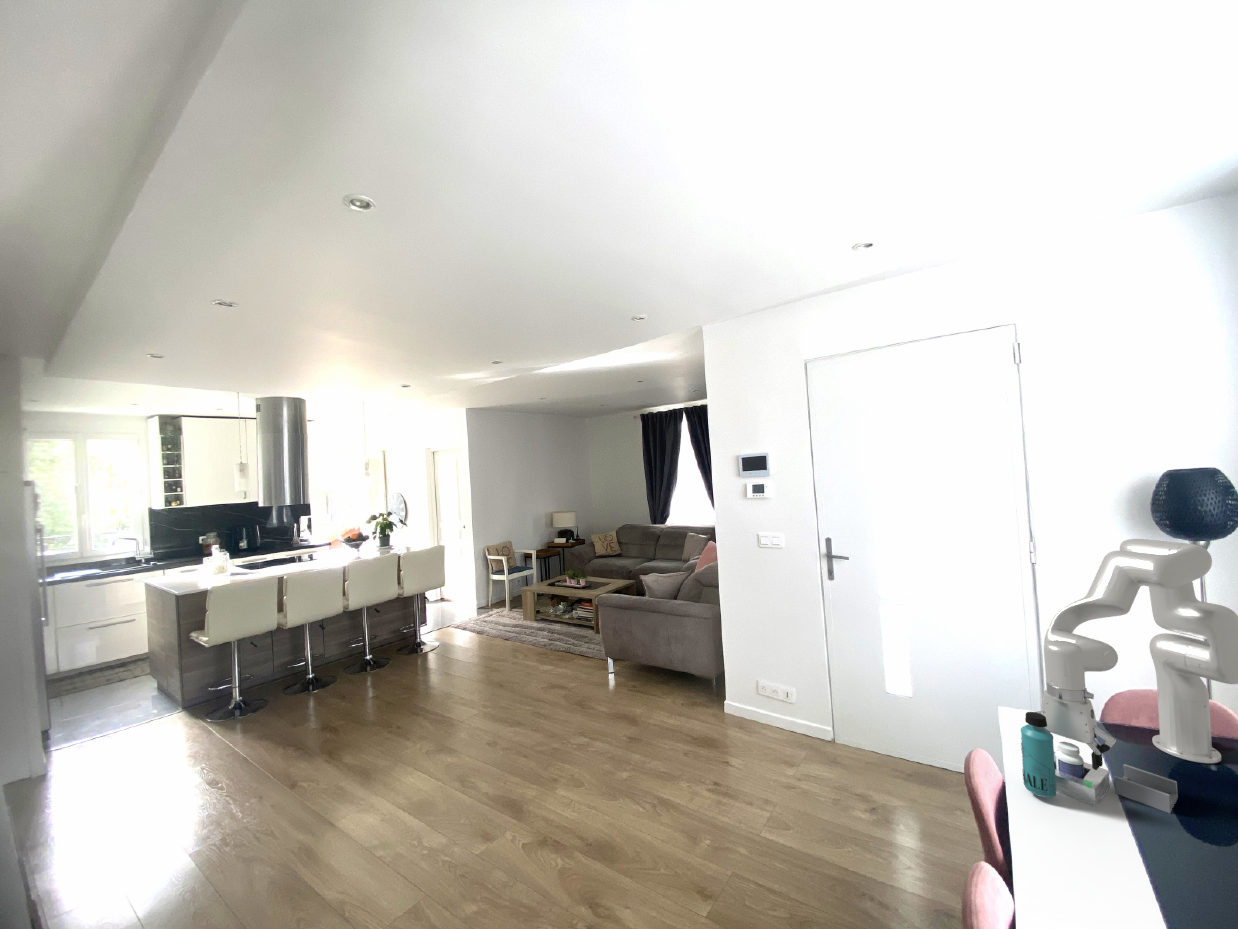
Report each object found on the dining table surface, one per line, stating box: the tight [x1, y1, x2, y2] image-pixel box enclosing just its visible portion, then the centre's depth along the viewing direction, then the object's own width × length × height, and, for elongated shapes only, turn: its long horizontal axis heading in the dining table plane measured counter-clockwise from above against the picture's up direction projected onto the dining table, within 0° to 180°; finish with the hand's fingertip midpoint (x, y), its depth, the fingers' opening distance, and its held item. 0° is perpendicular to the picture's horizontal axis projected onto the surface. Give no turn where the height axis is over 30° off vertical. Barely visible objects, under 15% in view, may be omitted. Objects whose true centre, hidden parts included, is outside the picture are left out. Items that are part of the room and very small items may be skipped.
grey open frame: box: [1114, 763, 1179, 814], centre depth 122 cm, size 9×9×4 cm
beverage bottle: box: [1020, 711, 1057, 798], centre depth 123 cm, size 6×7×20 cm
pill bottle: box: [1054, 741, 1085, 779], centre depth 127 cm, size 5×5×10 cm
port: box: [1054, 751, 1111, 807], centre depth 127 cm, size 12×12×5 cm
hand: (1070, 759), depth 127 cm, fingers open, 9 cm apart
